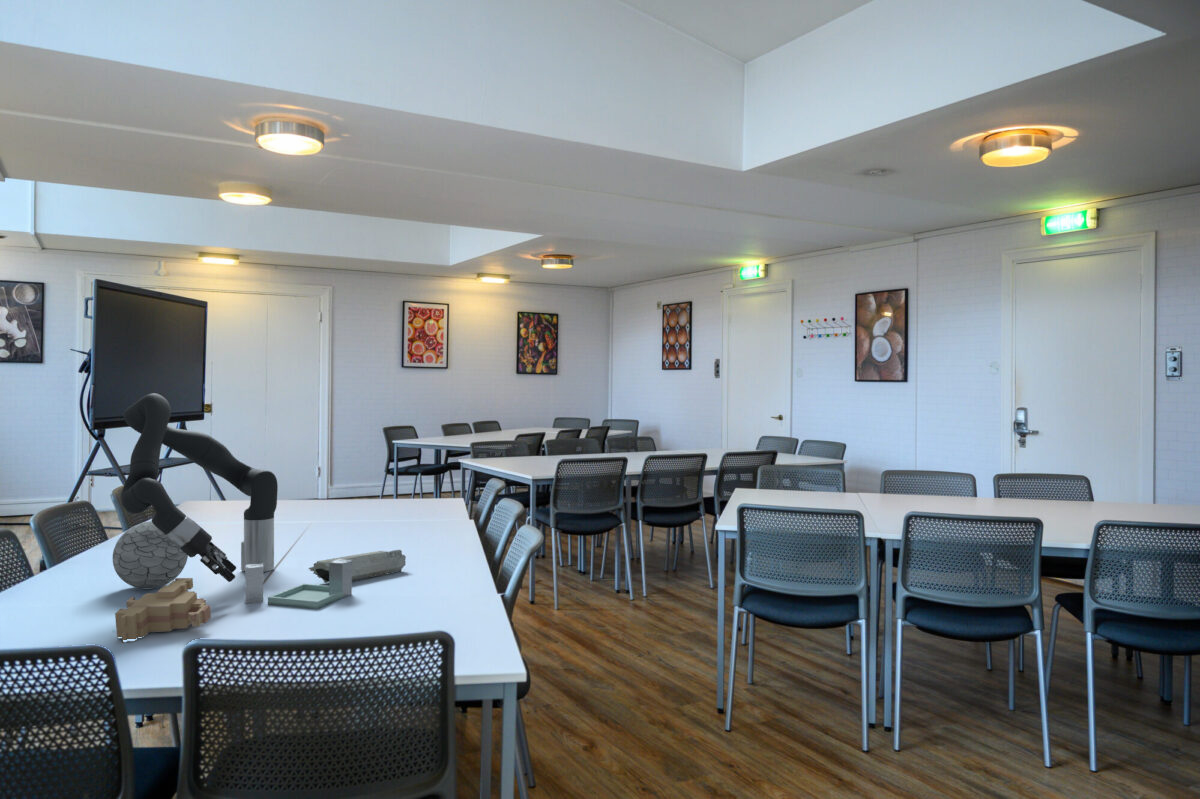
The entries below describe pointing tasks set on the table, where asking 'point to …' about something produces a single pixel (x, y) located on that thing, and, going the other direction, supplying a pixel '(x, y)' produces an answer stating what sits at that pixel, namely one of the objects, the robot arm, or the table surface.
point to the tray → (305, 596)
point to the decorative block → (365, 564)
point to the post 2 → (340, 577)
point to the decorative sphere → (147, 557)
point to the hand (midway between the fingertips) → (233, 575)
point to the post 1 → (254, 583)
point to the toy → (162, 611)
